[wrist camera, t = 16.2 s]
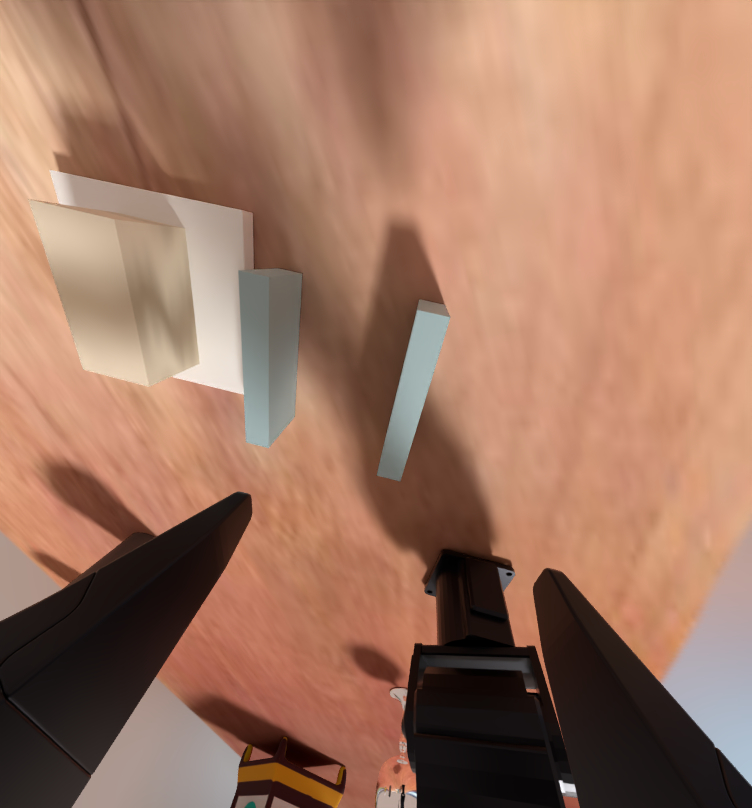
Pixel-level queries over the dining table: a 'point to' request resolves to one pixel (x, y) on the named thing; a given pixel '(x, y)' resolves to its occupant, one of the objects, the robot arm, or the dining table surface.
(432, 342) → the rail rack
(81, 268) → the maple block
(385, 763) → the wineglass
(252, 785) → the decorative lantern
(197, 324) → the ceramic tile
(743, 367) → the dining table surface
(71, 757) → the robot arm
